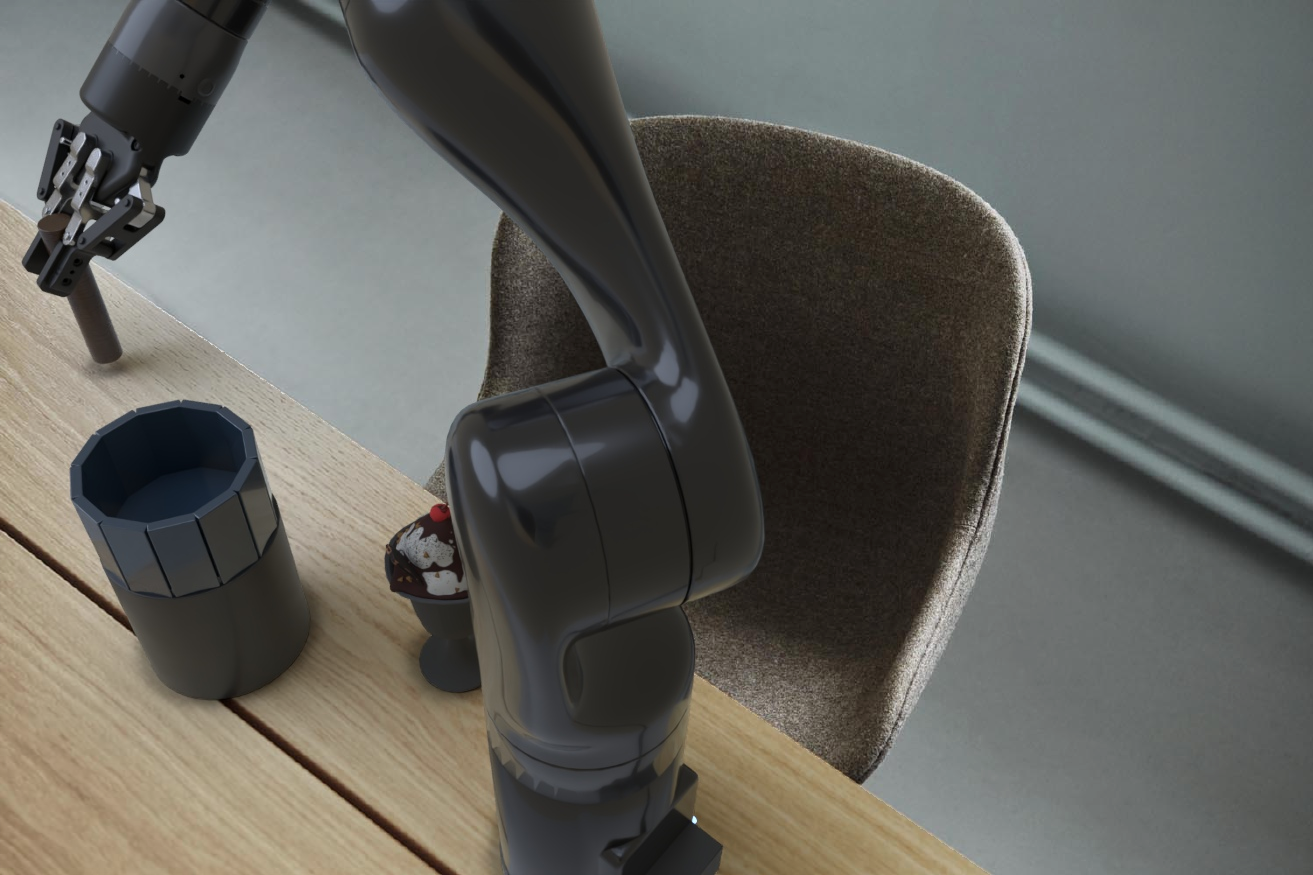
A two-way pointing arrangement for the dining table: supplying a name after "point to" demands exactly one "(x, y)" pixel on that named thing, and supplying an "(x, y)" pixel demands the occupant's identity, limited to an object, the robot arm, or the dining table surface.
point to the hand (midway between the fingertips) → (44, 281)
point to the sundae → (436, 597)
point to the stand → (225, 627)
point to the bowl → (174, 497)
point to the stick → (85, 299)
